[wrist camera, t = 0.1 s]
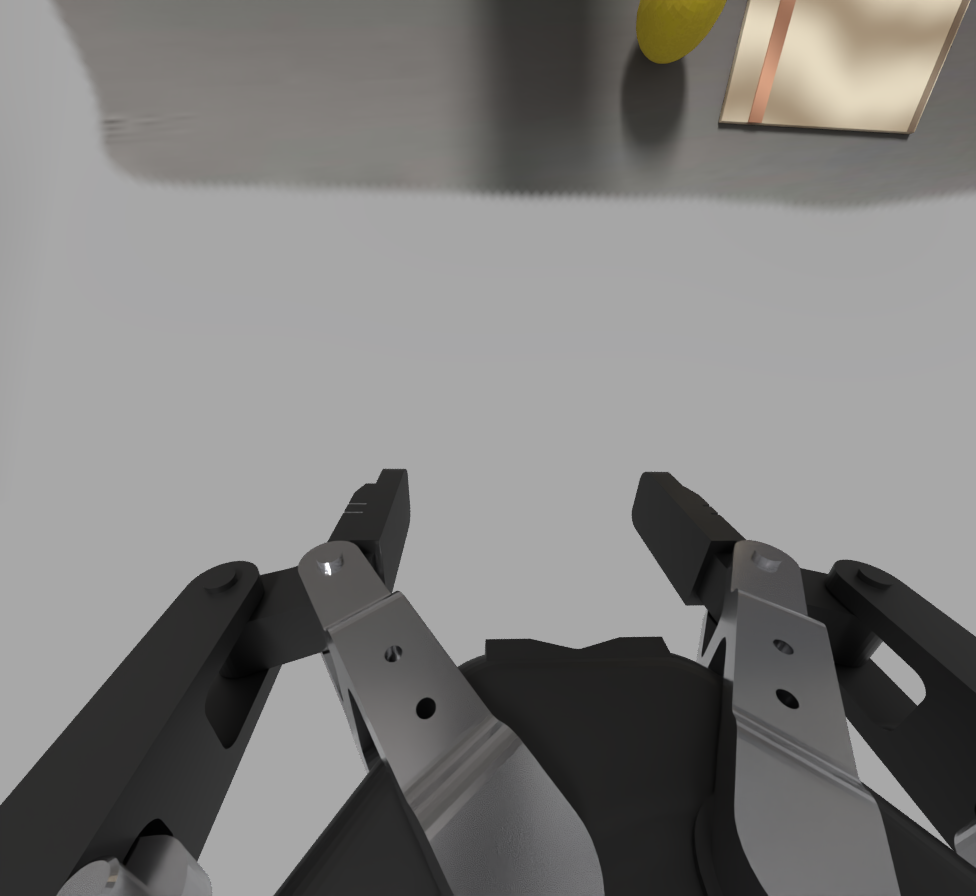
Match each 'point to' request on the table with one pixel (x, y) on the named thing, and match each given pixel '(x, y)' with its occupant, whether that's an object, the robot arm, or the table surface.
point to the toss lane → (839, 63)
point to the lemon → (674, 26)
